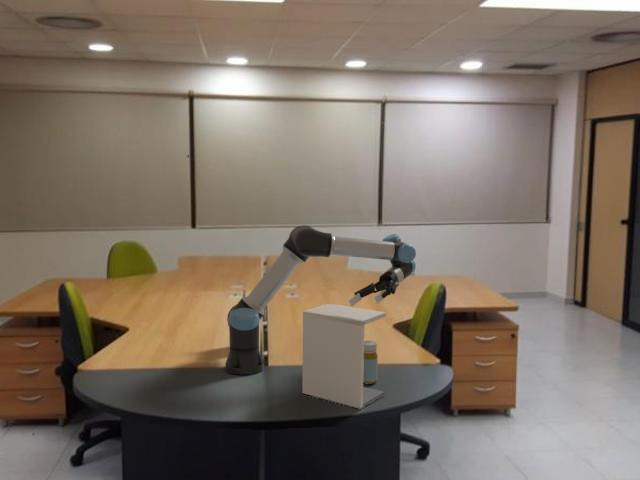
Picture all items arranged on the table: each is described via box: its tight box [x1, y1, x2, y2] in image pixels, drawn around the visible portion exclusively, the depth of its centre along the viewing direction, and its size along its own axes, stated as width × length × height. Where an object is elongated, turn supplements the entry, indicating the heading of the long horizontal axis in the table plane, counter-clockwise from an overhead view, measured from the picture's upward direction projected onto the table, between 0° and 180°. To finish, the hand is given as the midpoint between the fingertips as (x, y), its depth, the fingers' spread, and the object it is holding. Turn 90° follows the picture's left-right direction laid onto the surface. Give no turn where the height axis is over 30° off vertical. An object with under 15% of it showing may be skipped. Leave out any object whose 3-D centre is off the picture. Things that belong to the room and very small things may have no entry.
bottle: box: [363, 340, 379, 384], centre depth 230 cm, size 7×7×15 cm
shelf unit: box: [301, 303, 387, 408], centre depth 215 cm, size 16×24×30 cm, turn 55°
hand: (363, 302), depth 244 cm, fingers open, 13 cm apart
